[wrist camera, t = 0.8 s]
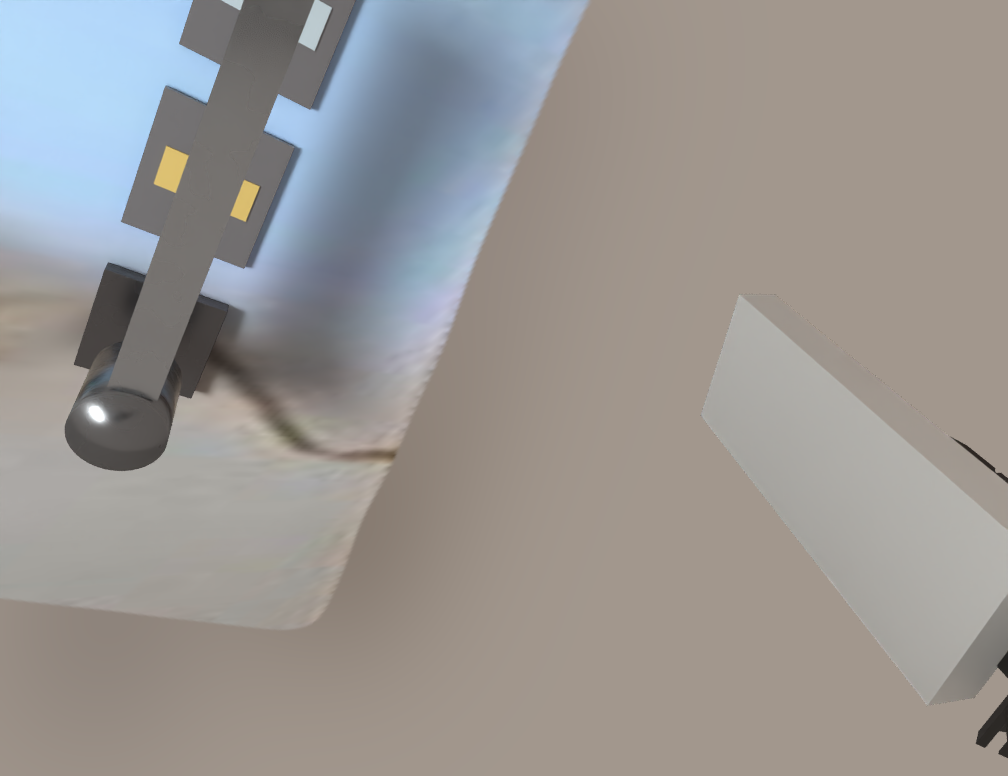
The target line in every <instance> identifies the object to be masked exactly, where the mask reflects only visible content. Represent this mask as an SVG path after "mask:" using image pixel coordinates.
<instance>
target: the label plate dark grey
mask: <svg viewBox="0 0 1008 776" xmlns="http://www.w3.org/2000/svg"><path fill="white" fill-rule="evenodd" d="M243 1H244V0H193V2H192V5H191V8H190V12H189V15H188V18H187V21H186V24H185V27H184V30H183V33H182V36H181V39H180V42H179V44H180V45H182V46H184V47H186V48H188V49H190V50H192V51H194V52H196V53H198V54H200V55H202V56H204V57H206V58H208V59H210V60H212V61H214V62H216V63H218V64H220V65H221V63H222V60H223V58H224V55H225V52H226V49H227V46H228V43H229V41H230V38H231V35H232V32H233V29H234V26H235V24H236V21H237V18H238V15H239V12H240V9H241V7H242V4H243ZM355 1H356V0H315V1H314V3H313V6H312V8H311V11H310V13H309V16H308V18H307V21H306V24H305V26H304V29H303V31H302V34H301V36H300V39H299V41H298V44H297V46H296V49H295V52H294V54H293V57H292V59H291V62H290V64H289V67H288V69H287V72H286V74H285V77H284V80H283V82H282V85H281V87H280V90H279V92H278V94H280V95H282V96H284V97H286V98H288V99H290V100H292V101H294V102H296V103H298V104H300V105H302V106H304V107H306V108H308V109H311V107H312V104H313V102H314V99H315V97H316V95H317V92H318V90H319V87H320V85H321V83H322V80H323V78H324V75H325V73H326V71H327V68H328V66H329V63H330V61H331V59H332V56H333V54H334V51H335V49H336V46H337V44H338V42H339V39H340V37H341V34H342V32H343V30H344V27H345V25H346V22H347V20H348V18H349V15H350V13H351V10H352V8H353V6H354V3H355Z"/></svg>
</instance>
